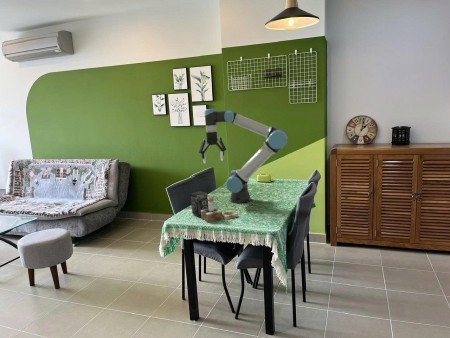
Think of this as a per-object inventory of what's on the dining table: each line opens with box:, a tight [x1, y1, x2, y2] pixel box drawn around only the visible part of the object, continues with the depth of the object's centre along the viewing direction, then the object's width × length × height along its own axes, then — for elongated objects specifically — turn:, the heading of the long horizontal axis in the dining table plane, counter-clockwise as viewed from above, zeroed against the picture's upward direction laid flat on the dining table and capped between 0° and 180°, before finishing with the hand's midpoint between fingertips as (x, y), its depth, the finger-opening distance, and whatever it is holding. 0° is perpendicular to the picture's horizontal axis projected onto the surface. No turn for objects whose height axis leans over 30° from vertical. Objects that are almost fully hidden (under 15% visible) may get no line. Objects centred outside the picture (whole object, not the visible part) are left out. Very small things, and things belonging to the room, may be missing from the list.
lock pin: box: [207, 197, 215, 212], centre depth 213 cm, size 4×4×13 cm
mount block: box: [222, 209, 239, 220], centre depth 217 cm, size 9×9×2 cm
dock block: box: [200, 206, 223, 224], centre depth 213 cm, size 10×10×6 cm
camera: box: [190, 191, 209, 217], centre depth 222 cm, size 10×10×15 cm
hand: (213, 161), depth 237 cm, fingers open, 13 cm apart
